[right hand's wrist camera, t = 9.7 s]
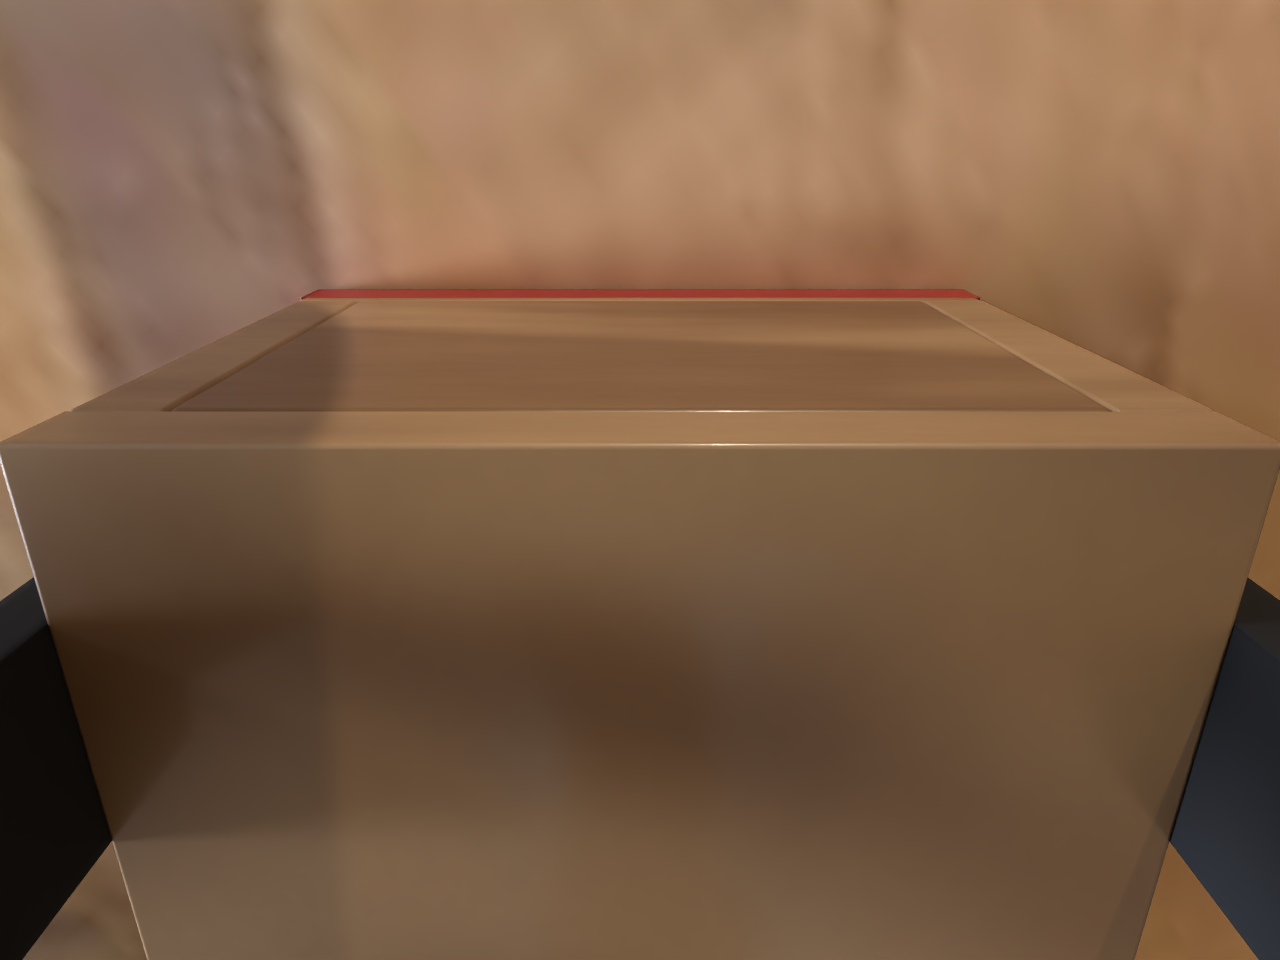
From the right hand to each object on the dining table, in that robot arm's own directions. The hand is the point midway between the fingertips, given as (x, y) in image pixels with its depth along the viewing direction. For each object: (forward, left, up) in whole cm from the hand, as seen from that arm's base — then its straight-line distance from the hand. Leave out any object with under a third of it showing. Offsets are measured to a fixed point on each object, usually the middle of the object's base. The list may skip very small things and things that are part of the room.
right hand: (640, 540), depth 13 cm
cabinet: (+1, -7, -4) cm, 8 cm away
